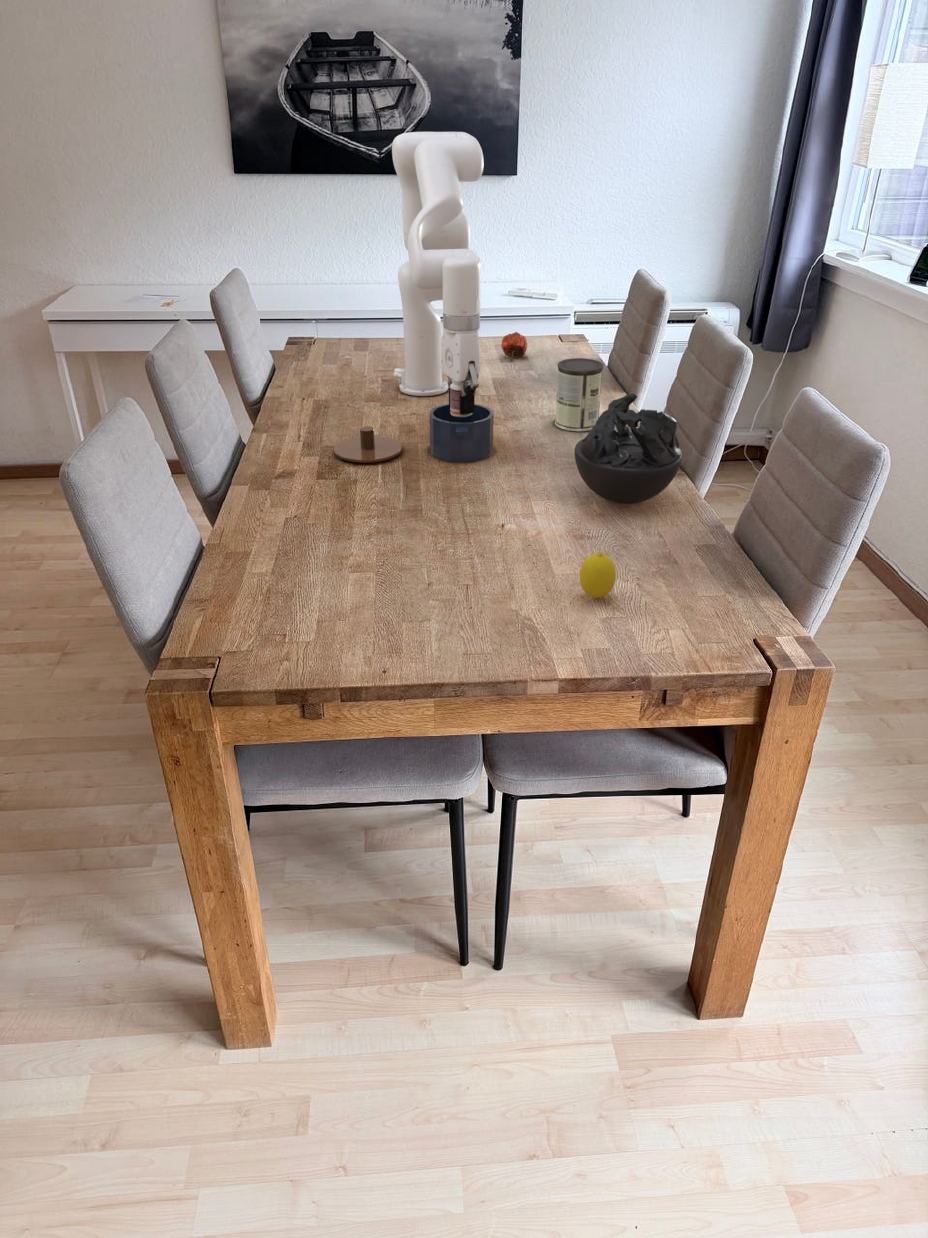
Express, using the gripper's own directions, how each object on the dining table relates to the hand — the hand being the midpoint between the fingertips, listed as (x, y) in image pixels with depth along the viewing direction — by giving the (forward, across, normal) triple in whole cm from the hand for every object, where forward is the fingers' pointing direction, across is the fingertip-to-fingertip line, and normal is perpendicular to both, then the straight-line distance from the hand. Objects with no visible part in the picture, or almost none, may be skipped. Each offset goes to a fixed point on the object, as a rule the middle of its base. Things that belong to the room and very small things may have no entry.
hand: (461, 408), depth 192 cm
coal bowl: (+9, +37, +18) cm, 42 cm away
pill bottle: (+1, 0, 0) cm, 1 cm away
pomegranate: (+10, -60, +44) cm, 75 cm away
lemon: (+9, +67, -7) cm, 68 cm away
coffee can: (+10, -4, +32) cm, 33 cm away
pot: (+9, 0, 0) cm, 9 cm away
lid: (+9, -7, -19) cm, 22 cm away
